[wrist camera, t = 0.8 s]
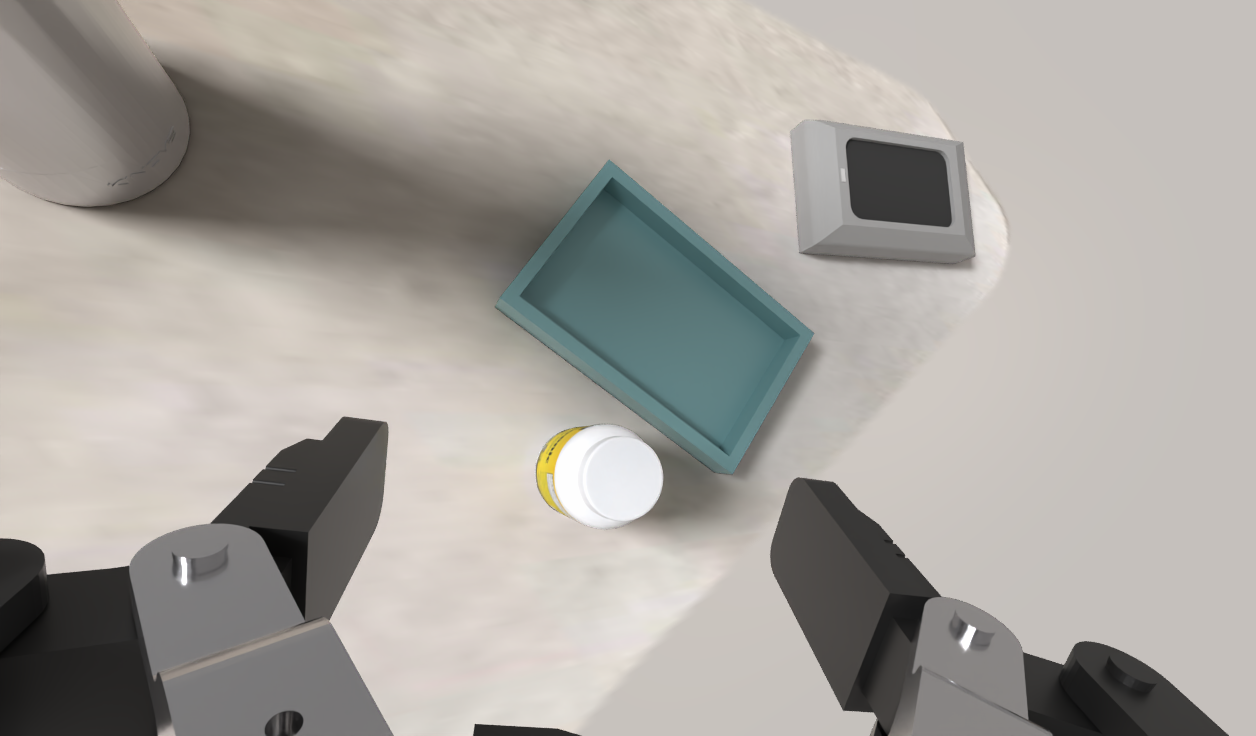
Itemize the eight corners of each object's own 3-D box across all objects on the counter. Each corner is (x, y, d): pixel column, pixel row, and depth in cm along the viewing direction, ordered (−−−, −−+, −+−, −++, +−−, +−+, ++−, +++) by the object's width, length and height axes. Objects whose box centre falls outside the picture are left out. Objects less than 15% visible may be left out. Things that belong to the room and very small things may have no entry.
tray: (494, 307, 37) (499, 297, 35) (598, 176, 40) (609, 159, 38) (714, 472, 40) (732, 474, 38) (793, 339, 44) (814, 333, 41)
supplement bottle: (596, 413, 38) (652, 403, 29) (630, 491, 38) (696, 505, 29) (518, 449, 36) (551, 451, 27) (553, 531, 36) (598, 560, 27)
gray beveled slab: (988, 251, 47) (826, 238, 42) (949, 265, 50) (795, 254, 45) (975, 134, 48) (816, 109, 43) (938, 156, 51) (787, 134, 46)
